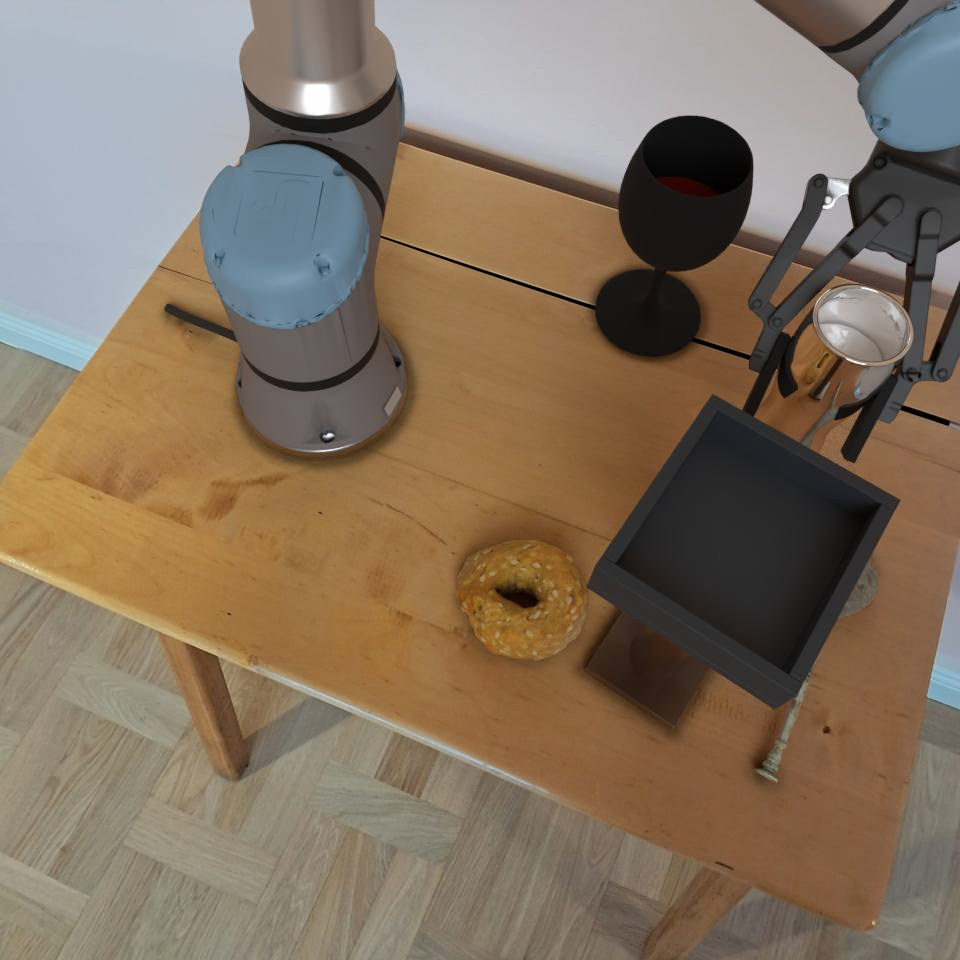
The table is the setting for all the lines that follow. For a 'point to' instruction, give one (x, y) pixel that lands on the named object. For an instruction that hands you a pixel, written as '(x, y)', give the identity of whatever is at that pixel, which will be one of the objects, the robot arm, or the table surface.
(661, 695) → the stand
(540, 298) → the table surface
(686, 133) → the wine glass
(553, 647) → the bagel
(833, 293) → the silver metal cup
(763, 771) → the soupspoon
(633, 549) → the tray
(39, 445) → the table surface
